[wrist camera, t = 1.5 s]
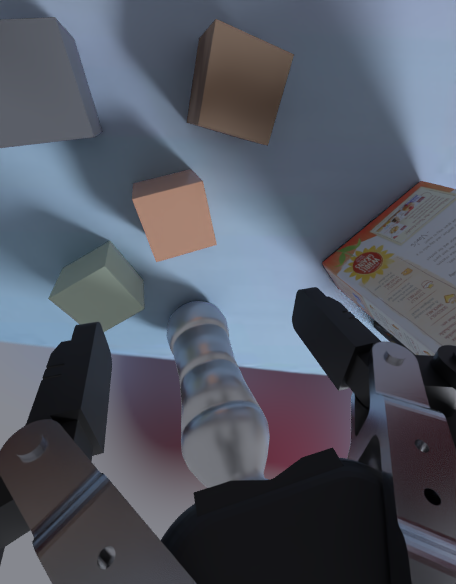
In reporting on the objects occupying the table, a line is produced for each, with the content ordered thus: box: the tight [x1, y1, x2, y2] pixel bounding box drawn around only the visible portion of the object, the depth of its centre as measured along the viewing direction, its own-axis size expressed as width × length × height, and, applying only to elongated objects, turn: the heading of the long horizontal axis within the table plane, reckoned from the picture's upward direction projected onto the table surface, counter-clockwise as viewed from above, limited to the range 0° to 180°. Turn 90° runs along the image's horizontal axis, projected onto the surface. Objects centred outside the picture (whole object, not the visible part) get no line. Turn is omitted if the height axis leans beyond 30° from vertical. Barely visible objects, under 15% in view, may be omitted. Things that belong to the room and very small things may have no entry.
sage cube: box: [49, 241, 144, 332], centre depth 24 cm, size 5×5×5 cm
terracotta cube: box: [132, 169, 217, 262], centre depth 22 cm, size 5×5×5 cm
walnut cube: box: [187, 19, 294, 146], centre depth 18 cm, size 5×5×5 cm
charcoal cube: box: [0, 17, 103, 148], centre depth 16 cm, size 5×5×5 cm
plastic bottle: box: [167, 301, 270, 488], centre depth 23 cm, size 6×7×20 cm
